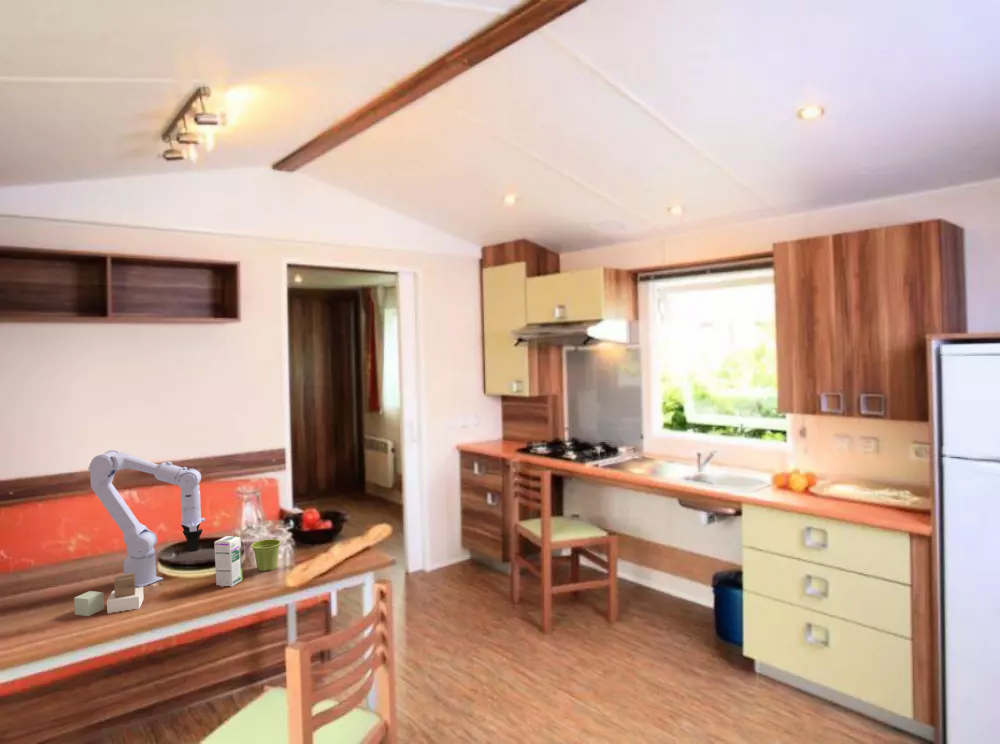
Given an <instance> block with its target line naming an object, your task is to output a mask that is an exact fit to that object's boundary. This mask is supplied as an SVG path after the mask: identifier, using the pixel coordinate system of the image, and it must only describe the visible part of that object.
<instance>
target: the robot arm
mask: <svg viewBox="0 0 1000 744" xmlns="http://www.w3.org/2000/svg"><path fill="white" fill-rule="evenodd" d="M124 469H131V470H135V471H138V472H139V471H140V472H144V473H147V474H151V475H154V477H155V479H156V480H159V481H161V482H166V483H168V484H172V485H176V486H178V487H179V488H180V508H181V509H180V510H181V522H180V523H181V525H180V526H181V528H182V529H183V530H182V533H183V535H184V537H185V539H186V543H187V545H188V546H187V547H188V550H189V552H190V553H192V552H193V553H194V552H198V549H199V548H198V547H199V541H200V537H201V536H202V533H203V528H200V525H201V523H203V522H206V518H205V517H202V510H201V509H202V507H201V490H200V489H201V487H200V483H201V480H202V474H201V472H200V471H199V470H197V469H195V468H193V467H192V468H188V467H186V466H183V467H181V466H179V465H174V464H173V462H172V461H167V462H165V461H164V462H162V463H159V464H157V463H155V462H152V461H149V460H146V459H143V458H140V457H137V456H135V455H131V454H129V453H127V452H121V451H117V450H108V451H106V452H104V453H102V454H98V455H95V456H94V457H93V458H92V459H91V462H90V464H89V465H88V468H87V470H88V471H89V473H90V474H89V475H90V476H89V477H90V487H91V489H92V492H94V494H95V495H96V496H97V498H98V500H99V501H100V502H101V504H102V505H103V507H104V508H105V509H106V511H107V512H108V514H109V515H110V516H111V518H112V519H113V521H114V522H115V524H116V525H117V526H118V527H119V529H120V530H121V532H122V534H123V542H124V544H125V545H126V552H127V555H126V556H125V558H124V560H123V564H122V565H123V574H129V573H135V588H139V587H143V588H144V587H146V586H149V585H150V584H153V583H157V582H159V581H162V580H163V577H161V576H157V563H156V562H157V558H156V550H155V548H154V547H155V546H156V544H157V542H158V537H157V535H156V534H155V532H154V531H153V530H150V529H148V527H147V526H146V525H144V524H143V523H141V522H139V520H138V518H137V517H136V516H135V515H134V512H133V511H132V510H131V508H130V507H129V506H128V504H127V503H126V501H125V500H124V499H123V497H122V496H121V494H120V493H119V491H118V490H117V488H116V487H115V486H114V484H113V480H114V478H115V475H116V473H117V471H121V470H124Z"/></svg>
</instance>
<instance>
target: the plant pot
mask: <svg viewBox="0 0 1000 744" xmlns="http://www.w3.org/2000/svg"><path fill="white" fill-rule="evenodd" d="M281 544H282V541H281V540H280V539H274V538H272V539H271V538H270V539H269V538H268V539H262V540H258V541H255V542H253V543H252V544H251V545H250V546H251V548H252V550H253V552H254V553H253V554H254V558H255V562H256V568H257V570H258V571H259V572H266V571H273V570H275V569H277V566H278V556H279V548H280V545H281Z"/></svg>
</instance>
